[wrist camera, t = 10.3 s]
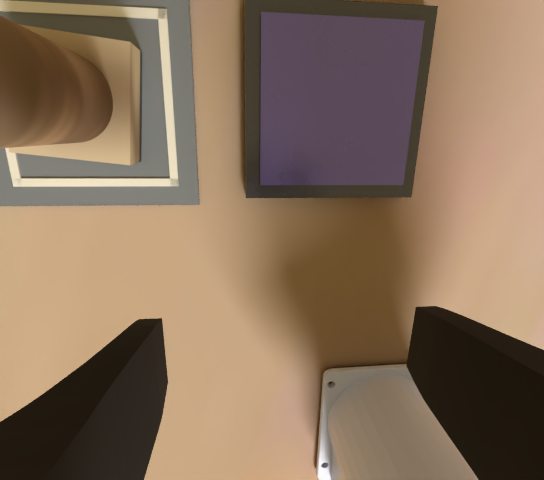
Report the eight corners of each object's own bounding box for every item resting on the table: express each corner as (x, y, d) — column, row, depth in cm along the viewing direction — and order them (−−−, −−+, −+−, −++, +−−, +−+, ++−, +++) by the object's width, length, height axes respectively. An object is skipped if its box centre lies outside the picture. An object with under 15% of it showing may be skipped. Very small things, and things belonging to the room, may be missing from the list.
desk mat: (199, 204, 19) (198, 205, 18) (0, 205, 17) (-4, 206, 17) (188, -14, 16) (187, -16, 15) (-54, -28, 14) (-60, -32, 14)
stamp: (141, 161, 17) (70, 184, 10) (34, 149, 17) (-131, 165, 9) (142, 52, 16) (60, -20, 8) (25, 34, 15) (-181, -62, 8)
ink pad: (402, 193, 20) (414, 198, 18) (245, 194, 19) (246, 198, 17) (426, 13, 17) (441, 3, 16) (244, 2, 16) (245, -8, 15)
